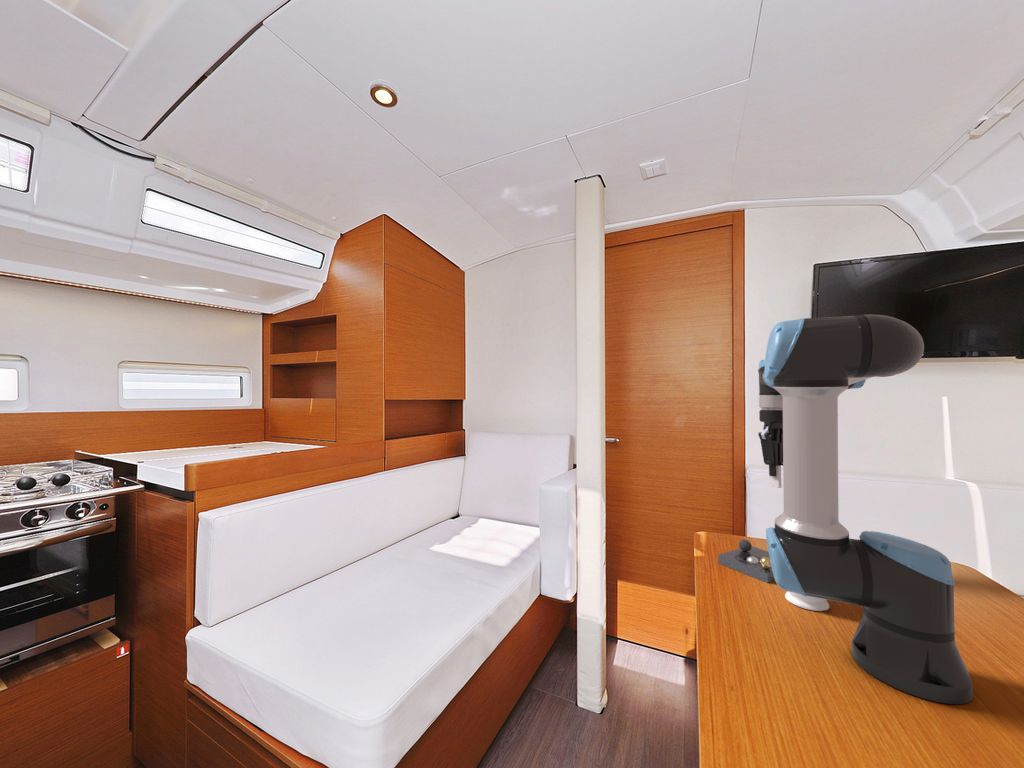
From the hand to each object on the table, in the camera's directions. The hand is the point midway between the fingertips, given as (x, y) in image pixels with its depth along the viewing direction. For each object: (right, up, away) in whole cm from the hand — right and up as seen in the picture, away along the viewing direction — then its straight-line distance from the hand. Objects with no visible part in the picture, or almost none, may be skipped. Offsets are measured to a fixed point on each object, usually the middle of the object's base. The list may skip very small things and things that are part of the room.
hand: (775, 486), depth 117 cm
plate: (-8, -22, -5) cm, 24 cm away
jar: (-9, -22, -24) cm, 34 cm away
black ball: (-9, -18, +1) cm, 20 cm away
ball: (-10, -20, -6) cm, 24 cm away
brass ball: (-10, -18, -11) cm, 24 cm away
